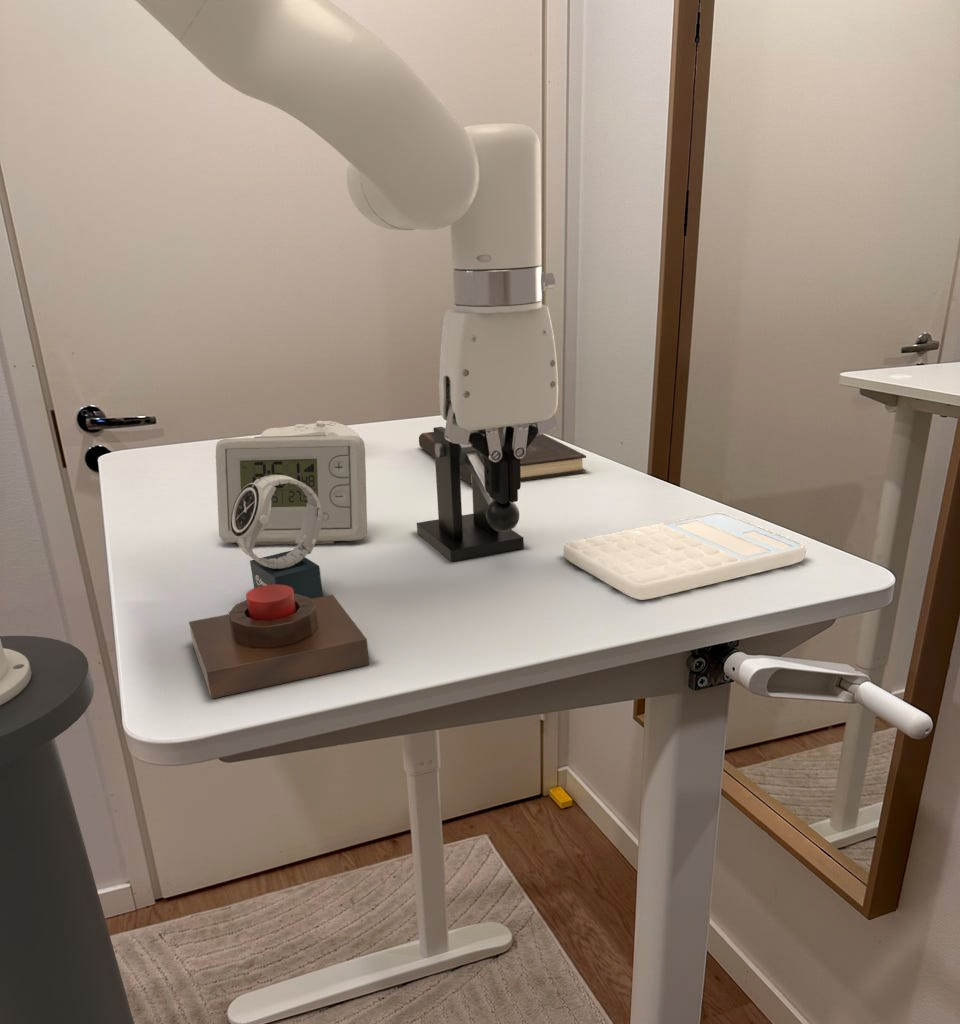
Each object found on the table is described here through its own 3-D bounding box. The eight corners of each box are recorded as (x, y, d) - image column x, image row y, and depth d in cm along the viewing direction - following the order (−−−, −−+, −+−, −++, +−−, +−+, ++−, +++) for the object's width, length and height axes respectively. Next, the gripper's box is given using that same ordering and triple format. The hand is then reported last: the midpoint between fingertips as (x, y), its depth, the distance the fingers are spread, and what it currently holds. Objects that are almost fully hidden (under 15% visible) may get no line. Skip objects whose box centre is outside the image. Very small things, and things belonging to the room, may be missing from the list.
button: (254, 626, 68) (250, 605, 68) (245, 609, 71) (242, 589, 71) (300, 617, 70) (298, 596, 69) (290, 601, 73) (287, 581, 72)
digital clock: (212, 546, 97) (195, 447, 92) (251, 520, 104) (237, 428, 100) (353, 554, 93) (343, 451, 88) (383, 526, 100) (375, 431, 96)
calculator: (558, 558, 89) (558, 540, 89) (719, 524, 97) (720, 507, 96) (637, 604, 79) (637, 584, 78) (810, 561, 86) (813, 542, 85)
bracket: (523, 548, 93) (522, 433, 87) (451, 561, 90) (445, 443, 85) (484, 521, 101) (481, 415, 96) (417, 533, 98) (409, 424, 93)
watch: (234, 597, 83) (215, 480, 79) (313, 576, 87) (300, 464, 83) (259, 616, 79) (240, 494, 74) (340, 593, 83) (328, 476, 79)
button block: (211, 699, 66) (202, 649, 64) (193, 645, 74) (184, 601, 72) (369, 664, 70) (364, 617, 68) (335, 617, 78) (330, 574, 77)
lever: (521, 536, 87) (527, 512, 84) (490, 541, 86) (496, 517, 83) (472, 447, 94) (476, 423, 91) (443, 451, 92) (447, 426, 90)
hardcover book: (520, 437, 138) (519, 422, 137) (585, 472, 118) (586, 455, 117) (419, 449, 133) (418, 433, 132) (469, 488, 113) (469, 470, 112)
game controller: (265, 448, 123) (247, 419, 130) (268, 477, 126) (250, 448, 133) (365, 434, 128) (343, 408, 136) (366, 462, 131) (344, 435, 138)
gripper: (554, 282, 83) (555, 478, 91) (400, 294, 78) (414, 501, 86) (596, 287, 77) (592, 497, 84) (431, 300, 71) (443, 522, 79)
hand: (503, 498), depth 85 cm, fingers closed
